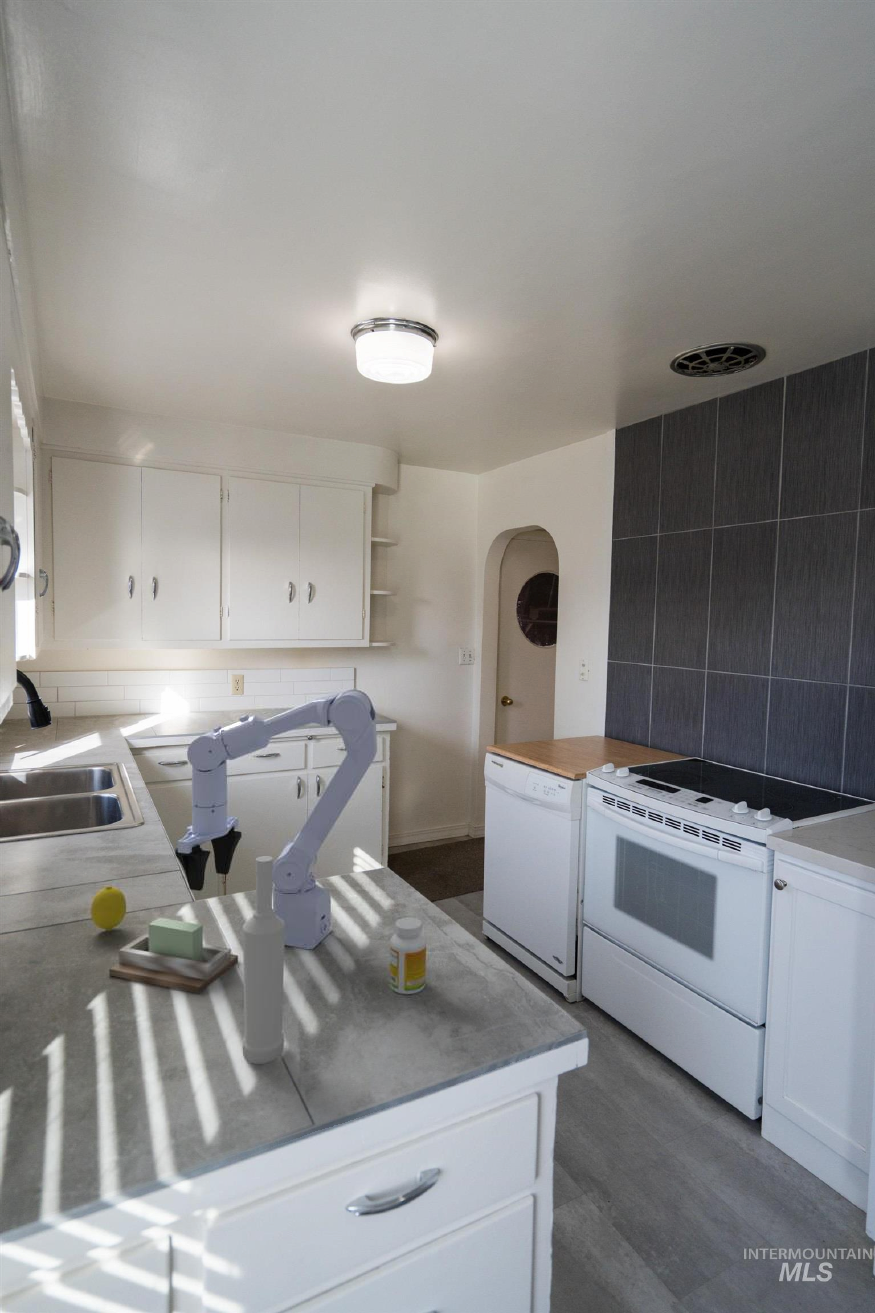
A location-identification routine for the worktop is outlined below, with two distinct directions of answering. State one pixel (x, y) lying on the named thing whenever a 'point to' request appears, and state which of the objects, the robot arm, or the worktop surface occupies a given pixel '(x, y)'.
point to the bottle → (263, 973)
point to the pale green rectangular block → (176, 939)
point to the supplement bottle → (408, 957)
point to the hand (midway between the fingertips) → (209, 881)
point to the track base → (172, 966)
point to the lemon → (108, 908)
